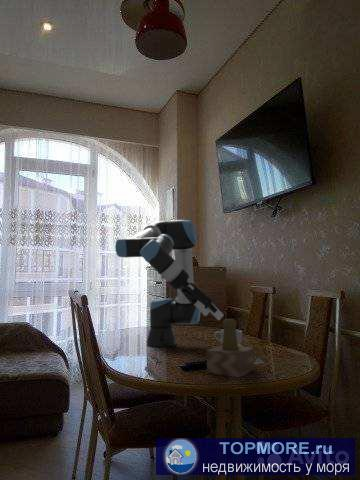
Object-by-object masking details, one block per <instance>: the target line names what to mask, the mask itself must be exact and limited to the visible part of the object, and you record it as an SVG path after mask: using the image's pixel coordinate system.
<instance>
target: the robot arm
mask: <svg viewBox="0 0 360 480" xmlns="http://www.w3.org/2000/svg"><path fill="white" fill-rule="evenodd" d="M197 232H198V231H197V228H196V224H195V222H194V221H193V220H191V219H177V220H176V219H174V220H160V221H155V222H153V223H151V224H149V225H147V226H145V227H144V228H143V230H142V231H140V232H138V233H136V234H134V235H133V236H131V237H123V238H118V239H117V240H116V241H115V253H116V256H118V257H120V258H125V259H127V258H143V260H144V261H145V262H147V263H148V264H149V265H150V266H151V267H152V268H153V269H154V270H155V271H156V272H157V273H158V274H159V275H160V276H161V277H160V278H161V279H162V280H164V281H166V282H168V285H169V286H170V287H171V288H173V289H174V290H177V291H176V292H177V296H176V297H175V298H174V300H173V298H172V297H171V298H162V299H156V300H152V301H151V302H150V309H149V311H150V312H149V315H150V316H149V324H150V325H149V327H150V330H149V333H148V335H147V339H146V345H147V346H148V347H156V348H157V347H158V348H163V347H165V348H166V347H167V348H168V347H171V346H175V345H177V340H176V339H177V338H176V336H175V332H174V329H173V327H174V326H173V325H190V326H191V325H198V324H199V322H200V318H201V313H202V315H203V316H204V317H208V315H209V313H210V314H211V315H212V316H213V317H214V318H215V319H216V320H217V321H220V320H221V319H222V318H223V317H224V314H223V312H222V311H221V310H220V309H219V308H218V307H217V306H216V305H215V304H214V303H213V300H212V299H211V298H210V297H209V296H207V295H206V294H205V293H204V291H203V292H202V291H201V289H199V287H197V286H196V285H195V283H194V282H195V281H194V265H193V264H194V263H193V251H192V250H193V249H194V248H195V245H196V244H197V243H198V233H197ZM172 251H174V252H173V253H174V258H173V257H172V256H171V255H170V254H171V252H172Z"/></svg>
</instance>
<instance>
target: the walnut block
mask: <svg viewBox="0 0 360 480" xmlns="http://www.w3.org/2000/svg"><path fill="white" fill-rule="evenodd" d="M222 345H223V344H221V345H217V346H214V347H212V348H208V349H206V372H207V373H209V374H215V375H222V376H225V377H234V378H241V377H244V376H245V375H247V374H249V373H251V372H253V371H254V370H255V364H254V362H255V349H254V347H249V346H243V345H242V346H243V347H242V346H238V350H223V349H222Z"/></svg>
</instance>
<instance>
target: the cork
mask: <svg viewBox="0 0 360 480" xmlns="http://www.w3.org/2000/svg"><path fill="white" fill-rule="evenodd" d="M222 327H223V329H224V336H223V344H221V345H222V349H223V350H238V343H237V337H236V330H235V327H236V328H237V321H236V319H233V318H226V319H223V321H222Z"/></svg>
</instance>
